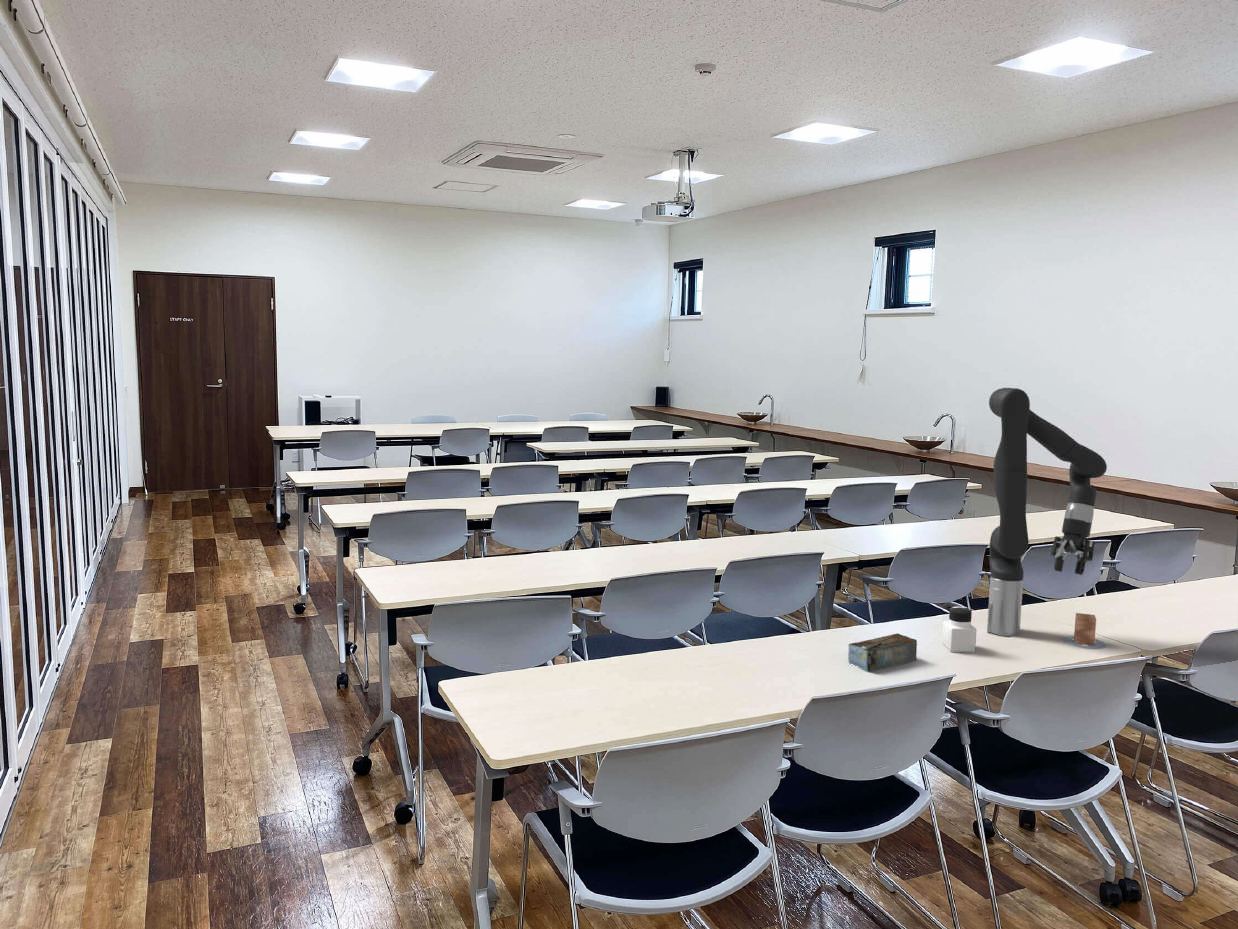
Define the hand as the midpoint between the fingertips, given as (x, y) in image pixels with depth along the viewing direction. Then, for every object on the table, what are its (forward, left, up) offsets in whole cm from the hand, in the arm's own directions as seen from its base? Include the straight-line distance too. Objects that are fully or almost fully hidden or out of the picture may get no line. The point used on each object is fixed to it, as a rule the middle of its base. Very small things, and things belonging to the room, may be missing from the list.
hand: (1068, 572), depth 261 cm
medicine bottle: (-29, -23, -21) cm, 42 cm away
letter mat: (+5, -2, -20) cm, 21 cm away
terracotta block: (+5, -2, -20) cm, 21 cm away
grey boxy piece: (-48, -44, -21) cm, 68 cm away
